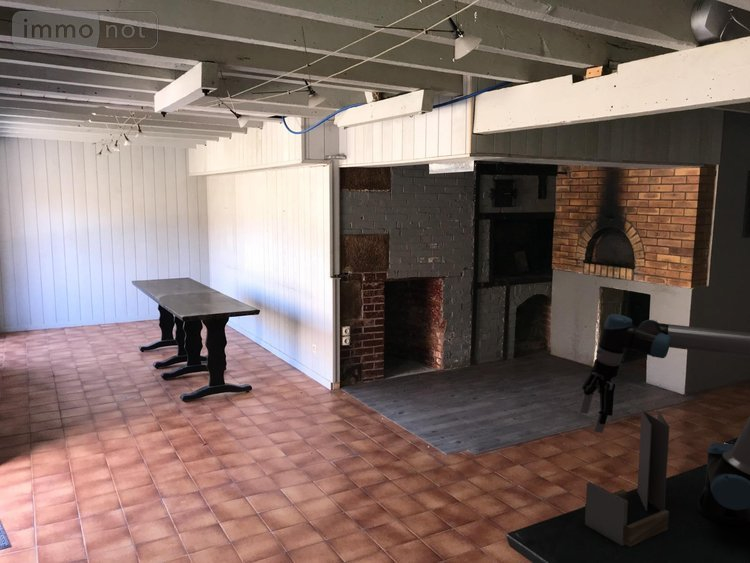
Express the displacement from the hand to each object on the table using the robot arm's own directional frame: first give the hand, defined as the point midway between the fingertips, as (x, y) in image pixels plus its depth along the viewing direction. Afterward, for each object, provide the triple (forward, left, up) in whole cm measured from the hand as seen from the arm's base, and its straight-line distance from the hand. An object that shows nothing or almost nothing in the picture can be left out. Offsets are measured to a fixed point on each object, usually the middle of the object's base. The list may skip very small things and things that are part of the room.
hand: (590, 422), depth 203 cm
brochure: (-9, -21, -30) cm, 38 cm away
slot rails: (-14, -2, -30) cm, 33 cm away
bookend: (-14, +8, -30) cm, 34 cm away
